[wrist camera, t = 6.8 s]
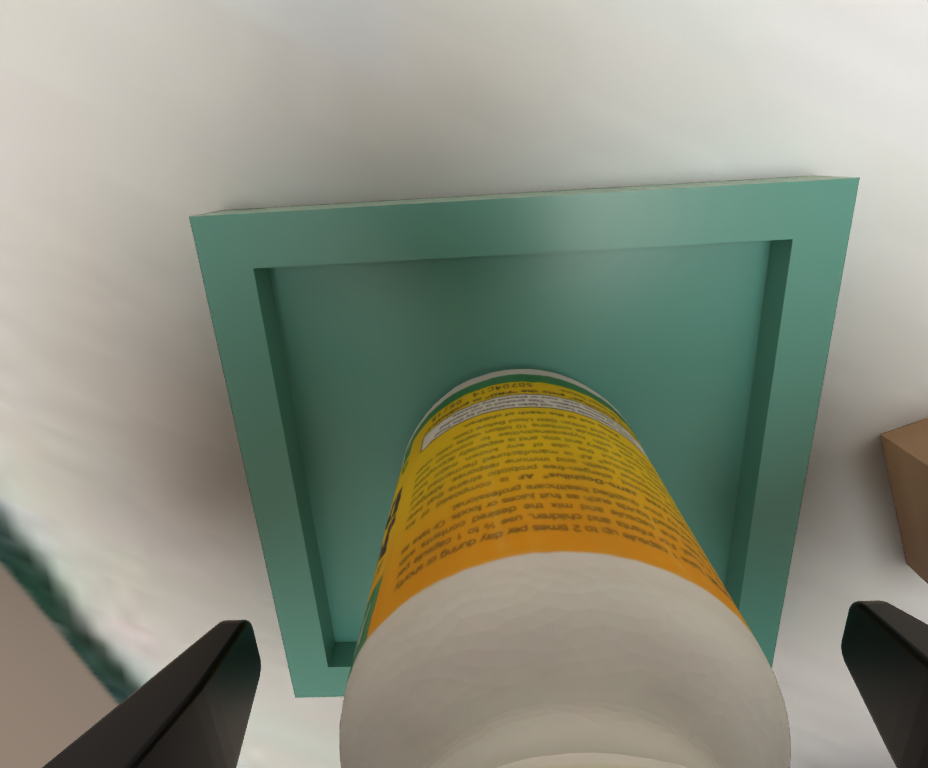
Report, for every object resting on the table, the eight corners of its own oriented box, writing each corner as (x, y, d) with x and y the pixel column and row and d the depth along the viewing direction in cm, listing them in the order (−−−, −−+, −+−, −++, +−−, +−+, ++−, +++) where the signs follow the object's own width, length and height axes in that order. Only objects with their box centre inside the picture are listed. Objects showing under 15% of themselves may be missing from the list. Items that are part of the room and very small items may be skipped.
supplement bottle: (654, 539, 14) (981, 1228, 5) (441, 586, 14) (387, 1275, 6) (612, 331, 12) (1016, 829, 3) (369, 394, 13) (118, 965, 4)
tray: (744, 642, 16) (768, 686, 14) (309, 654, 16) (295, 697, 15) (815, 175, 11) (859, 177, 10) (220, 210, 12) (189, 216, 11)
